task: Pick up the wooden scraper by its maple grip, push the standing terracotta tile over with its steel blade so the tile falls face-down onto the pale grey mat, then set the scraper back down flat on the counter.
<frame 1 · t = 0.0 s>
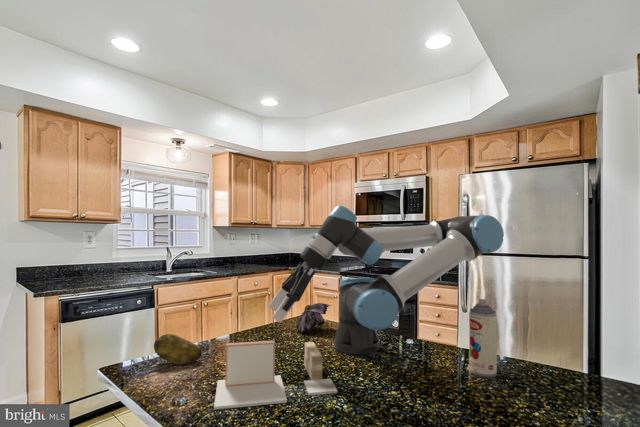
hand: (273, 314, 102), 15 cm above the countertop, tool tilted 35°, fingers open, 13 cm apart
aerosol can: (483, 373, 100), on the countertop
mat: (250, 391, 87), on the countertop
decorative flower: (314, 331, 139), on the countertop
potato: (177, 363, 105), on the countertop
scraper: (312, 372, 99), on the countertop
tile: (250, 342, 91), point 11 cm above the countertop, touching mat
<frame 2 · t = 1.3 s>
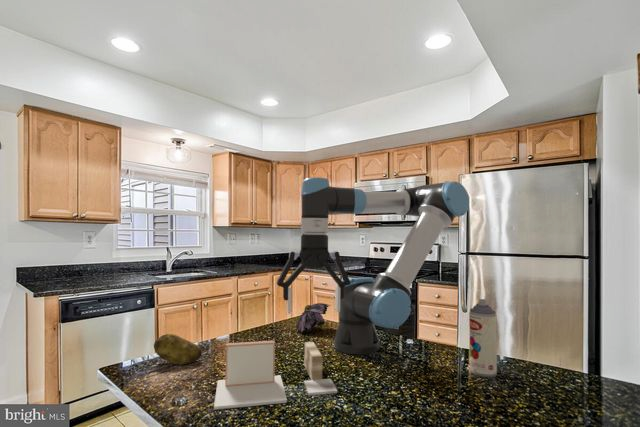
hand: (313, 311, 98), 17 cm above the countertop, tool pointing down, fingers open, 13 cm apart
nothing on the countertop moved.
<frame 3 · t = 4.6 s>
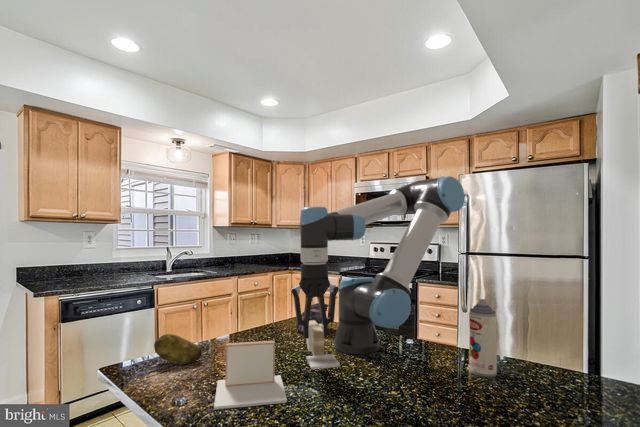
hand: (315, 349, 98), 7 cm above the countertop, tool pointing down, fingers closed on scraper, 3 cm apart
scraper: (314, 349, 99), point 6 cm above the countertop, touching gripper
everything else where it was.
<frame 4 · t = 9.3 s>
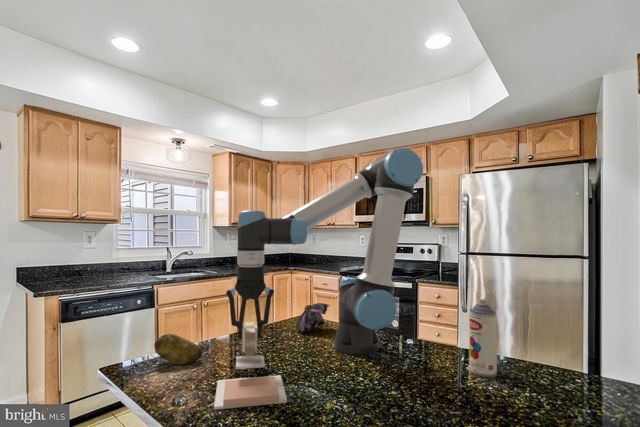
hand: (249, 350, 100), 6 cm above the countertop, tool pointing down, fingers closed on scraper, 3 cm apart
scraper: (249, 350, 101), point 5 cm above the countertop, touching gripper
tile: (251, 400, 79), point 1 cm above the countertop, tilted 90°, touching mat
everything else where it was.
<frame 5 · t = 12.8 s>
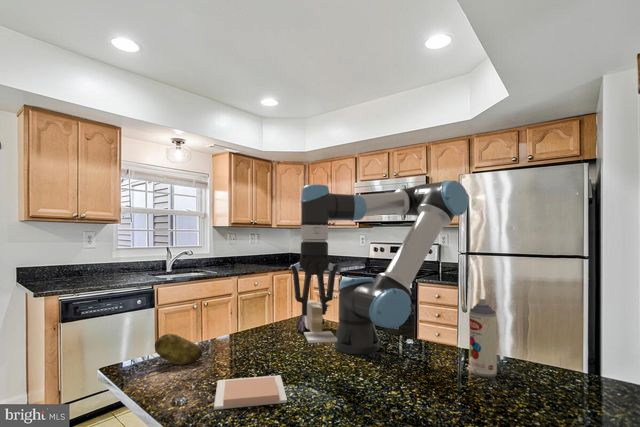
hand: (313, 327, 98), 13 cm above the countertop, tool pointing down, fingers closed on scraper, 3 cm apart
scraper: (312, 327, 99), point 12 cm above the countertop, touching gripper
everything else where it was.
when the fingers open (0 cm above the countertop, at t = 15.1 s): scraper stays where it is, on the countertop.
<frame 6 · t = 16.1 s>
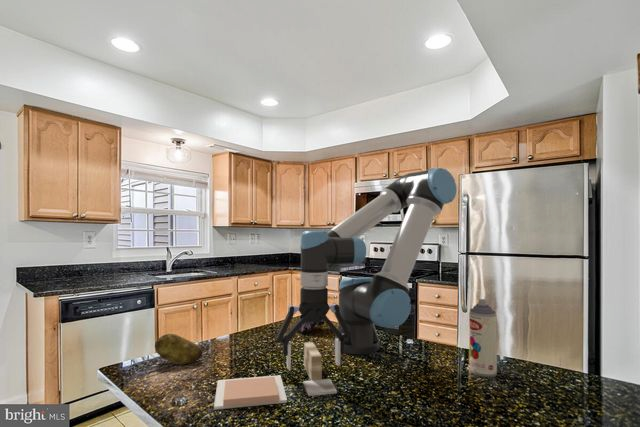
hand: (313, 365, 98), 2 cm above the countertop, tool pointing down, fingers open, 13 cm apart
scraper: (312, 373, 98), on the countertop
everything else where it was.
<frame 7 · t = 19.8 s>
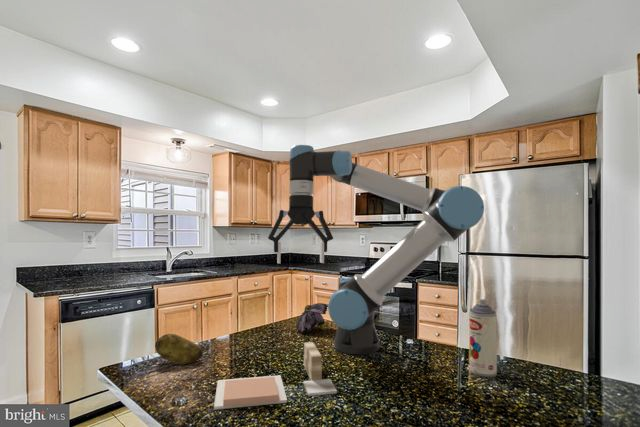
hand: (300, 263, 112), 29 cm above the countertop, tool pointing down, fingers open, 13 cm apart
nothing on the countertop moved.
at the end: tile inside the target area (0.0 cm from its centre), point 1.4 cm above the countertop; the gripper is holding nothing; scraper on the countertop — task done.
